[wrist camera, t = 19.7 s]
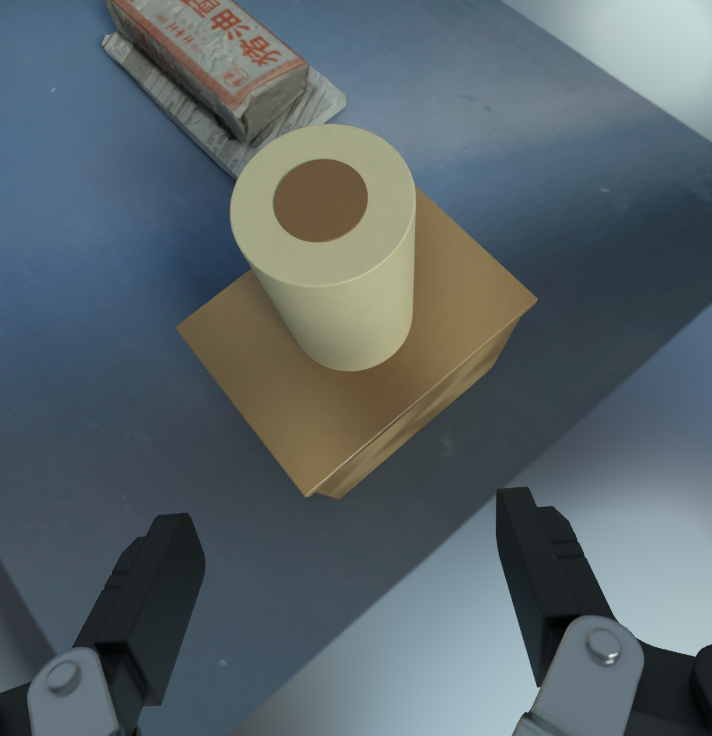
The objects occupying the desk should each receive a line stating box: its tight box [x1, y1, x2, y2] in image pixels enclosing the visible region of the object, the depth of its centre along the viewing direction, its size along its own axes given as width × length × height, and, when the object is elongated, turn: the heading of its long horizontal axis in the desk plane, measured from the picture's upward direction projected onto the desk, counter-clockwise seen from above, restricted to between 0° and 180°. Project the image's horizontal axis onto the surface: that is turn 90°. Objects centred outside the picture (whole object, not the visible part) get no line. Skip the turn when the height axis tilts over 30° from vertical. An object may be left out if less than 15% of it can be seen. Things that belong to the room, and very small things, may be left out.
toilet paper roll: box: [230, 124, 416, 371], centre depth 18 cm, size 5×5×8 cm
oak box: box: [175, 184, 537, 499], centre depth 26 cm, size 12×9×10 cm
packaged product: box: [102, 0, 346, 181], centre depth 37 cm, size 18×5×10 cm
